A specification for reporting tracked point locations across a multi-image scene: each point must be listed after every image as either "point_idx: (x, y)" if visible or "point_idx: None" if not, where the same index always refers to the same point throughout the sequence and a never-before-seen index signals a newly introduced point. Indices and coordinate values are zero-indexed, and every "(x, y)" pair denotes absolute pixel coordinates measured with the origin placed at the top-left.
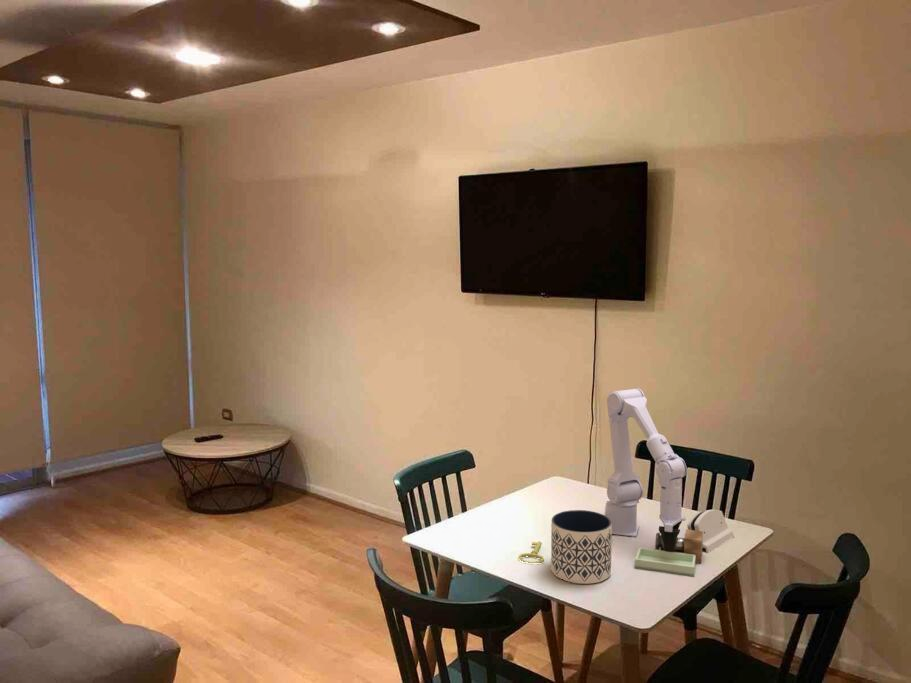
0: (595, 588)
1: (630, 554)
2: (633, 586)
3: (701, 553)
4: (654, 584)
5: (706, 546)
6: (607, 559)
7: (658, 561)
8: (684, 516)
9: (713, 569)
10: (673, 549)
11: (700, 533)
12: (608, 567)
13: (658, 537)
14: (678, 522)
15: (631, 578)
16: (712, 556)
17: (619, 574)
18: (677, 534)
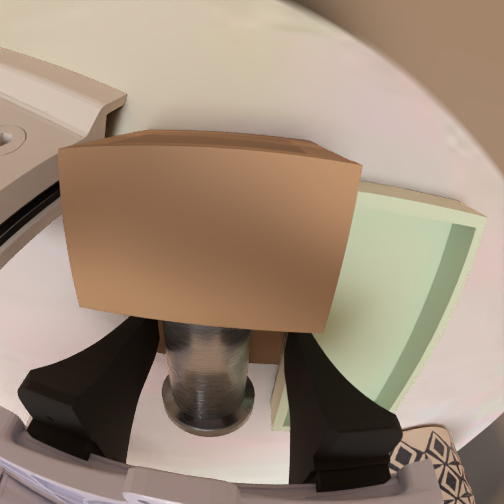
0: (462, 423)
1: (262, 418)
2: (479, 375)
3: (258, 137)
4: (486, 335)
5: (101, 107)
6: (452, 466)
7: (339, 352)
8: (133, 499)
9: (372, 79)
10: (311, 334)
11: (123, 168)
12: (442, 447)
13: (235, 422)
14: (308, 502)
15: (440, 390)
16: (172, 67)
17: (412, 415)
18: (393, 416)
